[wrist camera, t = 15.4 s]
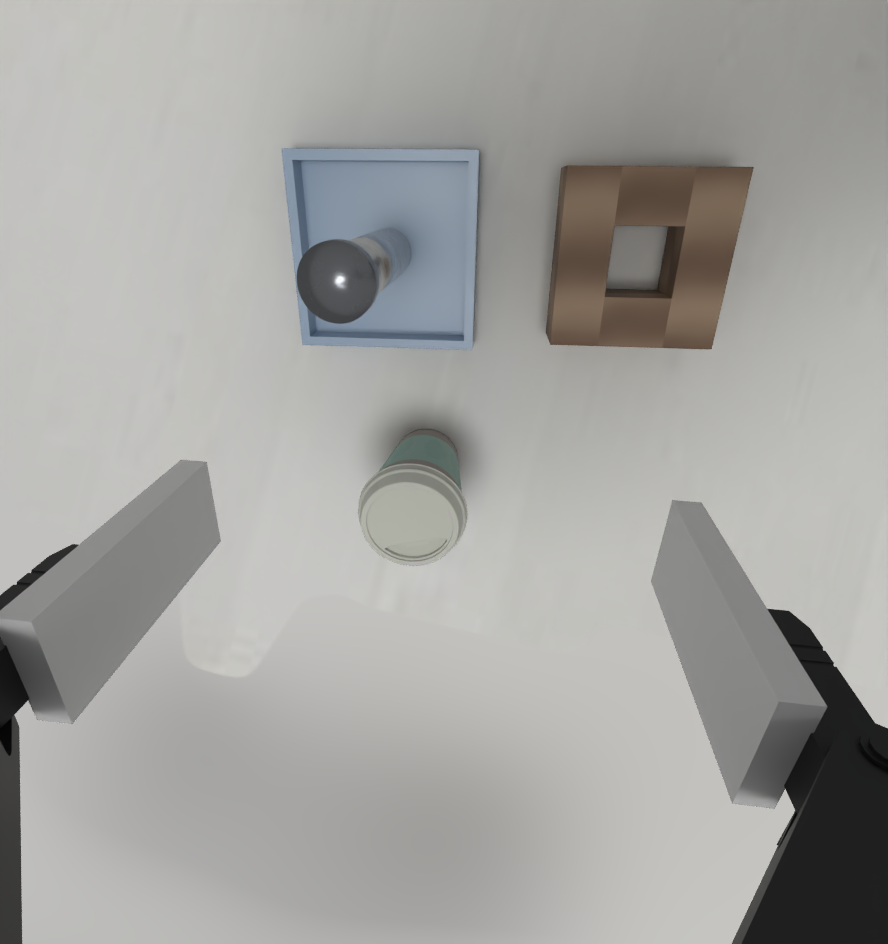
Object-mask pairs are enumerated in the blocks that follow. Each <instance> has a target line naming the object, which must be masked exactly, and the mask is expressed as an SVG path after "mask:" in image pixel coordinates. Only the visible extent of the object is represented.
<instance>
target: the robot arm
mask: <svg viewBox="0 0 888 944" xmlns="http://www.w3.org/2000/svg"><path fill="white" fill-rule="evenodd" d="M220 541H221V540H220V534H219V529H218V523H217V517H216V512H215V506H214V501H213V495H212V489H211V484H210V478H209V473H208V467H207V462H201V461H189V460H180V461H179V462H178V463H177V464H176V465H174V466H173V467H172V468H171V469H170V470H168V471H167V472H166V473H165V474H164V475H162V476H161V477H160V478H159V479H158V480H156V481H155V482H154V483H153V484H152V485H150V486H149V487H148V488H147V489H146V490H144V491H143V492H142V493H141V494H140V495H138V496H137V497H136V498H135V499H134V500H132V501H131V502H130V503H129V504H128V505H126V506H125V507H124V508H123V509H122V510H120V511H119V512H118V513H117V514H116V515H114V516H113V517H112V518H111V519H110V520H108V521H107V522H106V523H105V524H104V525H102V526H101V527H100V528H99V529H98V530H96V531H95V532H94V533H93V534H92V535H90V536H89V537H88V538H87V539H86V540H84V541H83V542H82V543H81V544H80V545H75V544H73V545H70V546H68V547H66V548H64V549H62V550H60V551H59V552H56V553H54V554H52V555H51V556H49V557H47V558H46V559H45V560H44V561H43V562H41V563H40V564H39V565H37V566H36V567H35V568H34V569H32V572H31V573H27V574H26V575H25V576H24V577H23V578H21V579H20V580H19V581H18V582H17V585H13V586H11V587H10V588H9V589H8V590H6V591H5V592H4V593H3V594H1V595H0V944H22V913H21V912H22V909H21V908H22V906H21V905H22V904H21V833H20V832H21V828H20V760H19V759H20V757H19V756H20V755H19V754H20V752H19V725H18V723H17V720H16V718H15V716H14V714H15V713H16V712H17V711H18V710H19V709H20V708H21V707H22V706H23V705H24V704H25V702H27V701H28V700H29V703H30V705H31V707H32V710H33V712H34V714H35V716H36V718H37V720H42V721H50V722H59V723H67V724H73V723H74V721H75V720H76V719H77V718H78V716H79V715H80V714H81V713H82V712H83V710H84V709H85V708H86V706H87V705H88V704H89V703H90V702H91V700H92V699H93V698H94V697H95V696H96V694H97V693H98V692H99V691H100V689H101V688H102V687H103V686H104V684H105V683H106V682H107V681H108V679H109V678H110V677H111V676H112V675H113V673H114V672H115V671H116V669H117V668H118V667H119V666H120V665H121V663H122V662H123V661H124V660H125V658H126V657H127V656H128V654H130V652H131V651H132V650H133V649H134V647H135V646H136V645H137V644H138V642H139V641H140V640H141V639H142V637H143V636H144V635H145V634H146V633H147V631H148V630H149V629H150V628H151V626H152V625H153V624H154V623H155V622H156V620H157V619H158V618H159V617H160V615H161V614H162V613H163V612H164V610H165V609H166V608H167V607H168V606H169V604H170V603H171V602H172V601H173V599H174V598H175V597H176V596H177V594H178V593H179V592H180V591H181V590H182V588H183V587H184V586H185V585H186V583H187V582H188V581H189V580H190V578H191V577H192V576H193V575H194V574H195V572H196V571H197V570H198V569H199V567H200V566H201V565H202V564H203V562H204V561H205V560H206V559H207V558H208V556H209V555H210V554H211V553H212V551H213V550H214V549H215V548H216V546H217V545H218V544H219V543H220ZM651 582H652V585H653V588H654V590H655V593H656V596H657V599H658V601H659V604H660V607H661V610H662V612H663V615H664V618H665V621H666V623H667V626H668V629H669V632H670V634H671V637H672V640H673V642H674V645H675V648H676V651H677V653H678V656H679V659H680V662H681V664H682V667H683V670H684V673H685V675H686V678H687V681H688V684H689V686H690V689H691V691H692V694H693V697H694V700H695V703H696V705H697V708H698V710H699V714H700V716H701V719H702V722H703V725H704V727H705V730H706V733H707V736H708V738H709V741H710V744H711V746H712V749H713V752H714V754H715V757H716V760H717V763H718V766H719V768H720V771H721V774H722V777H723V779H724V782H725V785H726V787H727V790H728V793H729V795H730V798H731V801H732V803H733V804H740V805H749V806H756V807H765V808H773V809H774V808H775V807H776V805H777V803H778V801H779V799H780V797H781V796H782V794H783V792H784V790H785V789H786V791H787V793H788V795H789V797H790V800H791V802H792V804H793V806H794V808H795V812H794V814H793V816H792V818H791V820H790V821H789V823H788V825H787V827H786V829H785V831H784V832H783V834H782V837H781V838H780V840H779V842H778V843H777V845H778V847H777V849H776V851H775V853H774V856H773V858H772V860H771V862H770V864H769V866H768V868H767V870H766V872H765V875H764V877H763V879H762V881H761V883H760V885H759V887H758V889H757V891H756V893H755V896H754V898H753V900H752V902H751V904H750V906H749V908H748V910H747V913H746V915H745V917H744V919H743V921H742V923H741V925H740V928H739V930H738V932H737V934H736V936H735V938H734V940H733V943H732V944H888V728H885V727H883V726H880V725H878V724H875V722H874V721H873V720H872V718H871V717H870V715H869V714H868V712H867V711H866V710H865V708H864V707H863V705H862V704H861V702H860V701H859V699H858V698H857V696H856V695H855V693H854V692H853V691H852V689H851V688H850V686H849V685H848V683H847V682H846V680H845V679H844V677H843V676H842V674H841V673H840V671H839V670H838V669H837V667H834V666H833V664H834V663H833V661H832V660H831V658H830V657H829V655H828V654H827V653H826V651H823V647H822V645H821V644H820V642H819V641H818V639H817V638H816V637H815V635H814V634H813V632H812V631H811V629H810V628H809V627H808V626H806V625H805V624H804V623H803V622H802V621H800V620H799V619H798V618H797V617H796V616H794V615H793V614H792V613H791V612H790V611H784V610H774V609H767V608H766V606H765V605H764V603H763V601H762V600H761V598H760V597H759V595H758V593H757V592H756V590H755V588H754V587H753V585H752V584H751V582H750V580H749V579H748V577H747V576H746V574H745V572H744V571H743V569H742V567H741V566H740V564H739V563H738V561H737V559H736V558H735V556H734V554H733V553H732V551H731V550H730V548H729V546H728V545H727V543H726V541H725V540H724V538H723V537H722V535H721V533H720V532H719V530H718V528H717V527H716V525H715V524H714V522H713V520H712V519H711V517H710V516H709V514H708V512H707V511H706V509H705V507H704V506H703V504H702V503H700V502H688V501H675V500H672V504H671V508H670V512H669V515H668V519H667V523H666V527H665V531H664V534H663V538H662V542H661V546H660V549H659V553H658V557H657V561H656V565H655V568H654V572H653V576H652V580H651Z"/></svg>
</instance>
